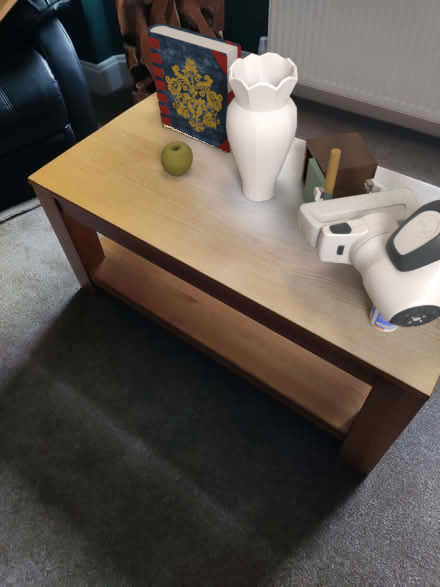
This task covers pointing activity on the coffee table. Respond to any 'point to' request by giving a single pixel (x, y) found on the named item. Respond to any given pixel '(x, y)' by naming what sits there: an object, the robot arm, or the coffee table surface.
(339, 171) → the cupboard
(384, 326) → the pill bottle
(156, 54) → the book
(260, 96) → the vase
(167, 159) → the apple
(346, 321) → the coffee table surface
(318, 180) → the cupboard door
